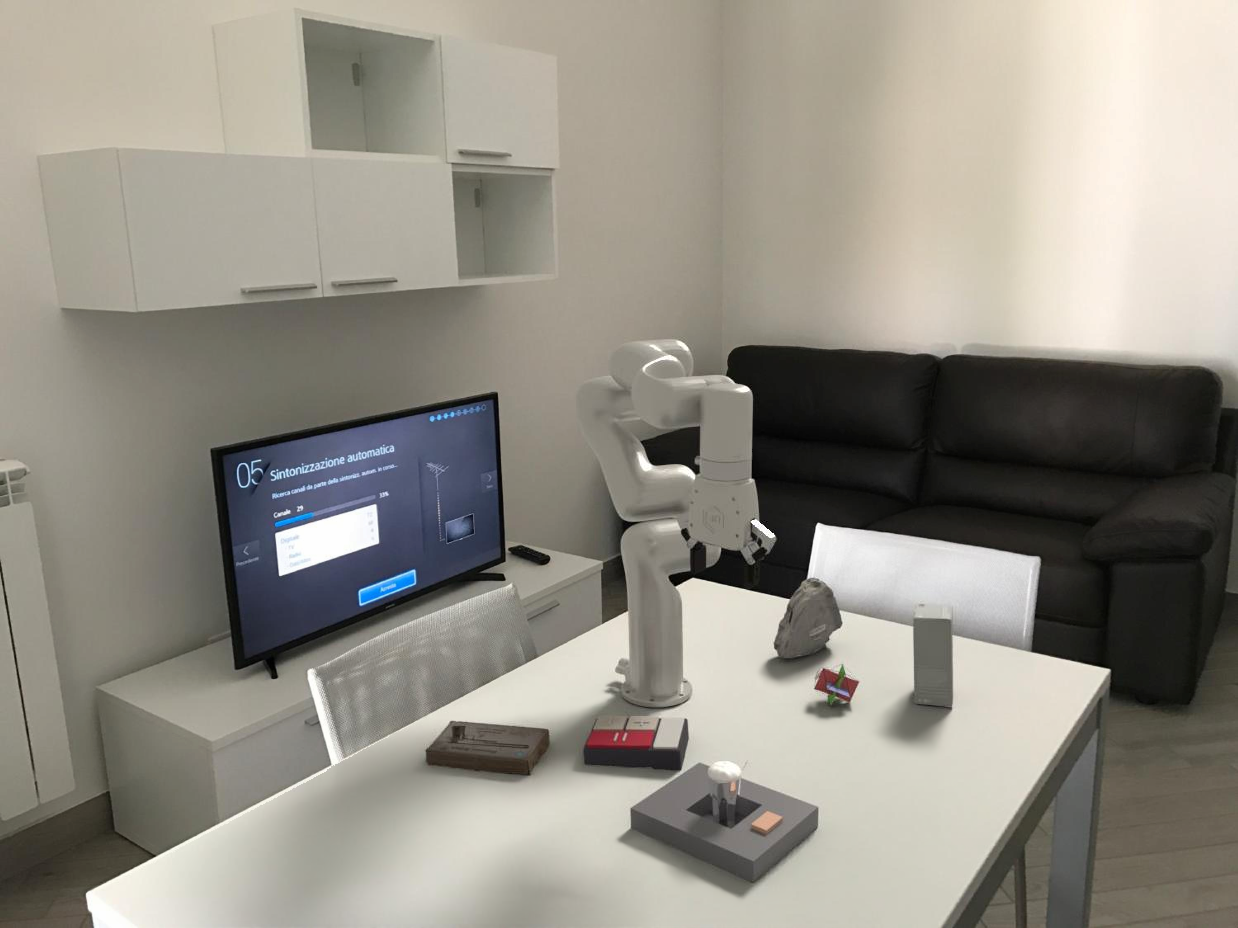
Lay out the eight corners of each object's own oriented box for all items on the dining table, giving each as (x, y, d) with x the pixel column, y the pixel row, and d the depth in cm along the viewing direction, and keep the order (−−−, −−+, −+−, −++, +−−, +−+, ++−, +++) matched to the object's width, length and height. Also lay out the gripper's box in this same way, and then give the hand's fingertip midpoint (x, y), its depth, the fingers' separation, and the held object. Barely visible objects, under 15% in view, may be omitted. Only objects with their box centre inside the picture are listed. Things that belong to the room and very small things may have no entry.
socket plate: (630, 827, 141) (630, 803, 141) (699, 780, 153) (699, 758, 152) (753, 882, 129) (753, 856, 128) (818, 826, 140) (818, 802, 140)
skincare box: (952, 709, 174) (956, 620, 171) (908, 704, 176) (912, 617, 173) (953, 688, 182) (957, 604, 179) (911, 684, 184) (914, 600, 181)
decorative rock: (825, 638, 206) (826, 566, 203) (850, 648, 201) (851, 575, 198) (764, 657, 198) (764, 583, 195) (788, 668, 192) (788, 592, 189)
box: (530, 778, 156) (529, 760, 155) (425, 767, 160) (423, 749, 159) (551, 744, 166) (551, 727, 165) (452, 735, 170) (451, 717, 169)
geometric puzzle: (864, 683, 180) (837, 648, 179) (869, 699, 174) (842, 664, 173) (831, 705, 182) (804, 671, 181) (835, 722, 175) (807, 687, 174)
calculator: (596, 712, 169) (687, 713, 166) (598, 737, 170) (689, 738, 167) (581, 744, 158) (679, 746, 155) (584, 770, 159) (681, 772, 156)
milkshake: (746, 836, 138) (746, 768, 136) (706, 833, 139) (705, 765, 137) (748, 818, 142) (748, 752, 140) (710, 815, 143) (709, 749, 141)
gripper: (663, 464, 153) (663, 573, 157) (760, 483, 142) (758, 600, 146) (694, 455, 158) (693, 560, 162) (790, 473, 147) (786, 585, 151)
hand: (724, 579), depth 154 cm, fingers open, 9 cm apart
